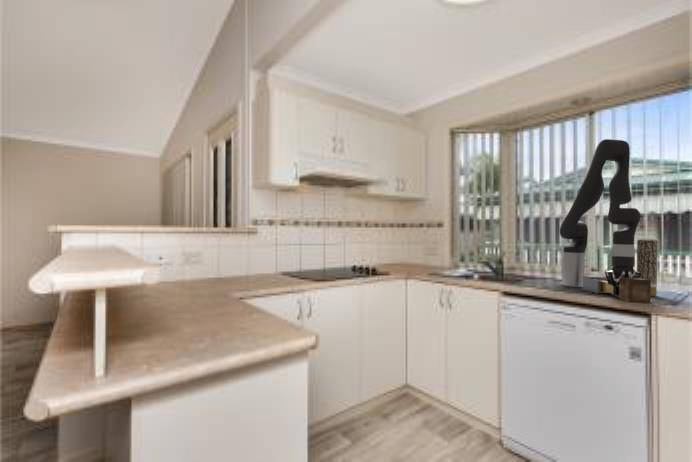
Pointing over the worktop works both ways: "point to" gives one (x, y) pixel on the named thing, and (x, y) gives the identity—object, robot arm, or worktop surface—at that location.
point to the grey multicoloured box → (593, 283)
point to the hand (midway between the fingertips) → (622, 295)
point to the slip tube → (606, 287)
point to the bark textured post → (648, 261)
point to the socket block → (634, 289)
